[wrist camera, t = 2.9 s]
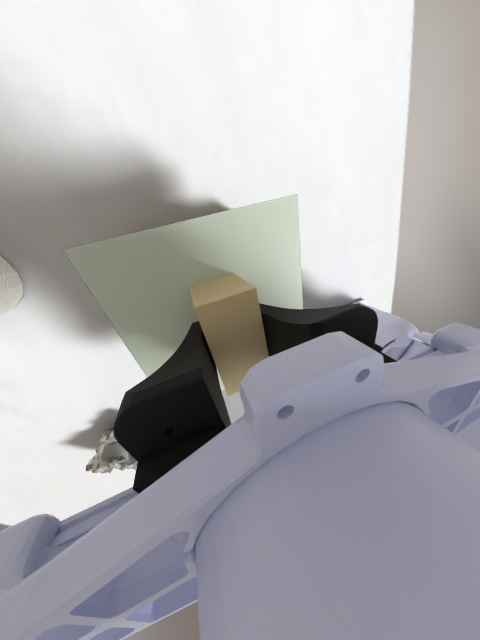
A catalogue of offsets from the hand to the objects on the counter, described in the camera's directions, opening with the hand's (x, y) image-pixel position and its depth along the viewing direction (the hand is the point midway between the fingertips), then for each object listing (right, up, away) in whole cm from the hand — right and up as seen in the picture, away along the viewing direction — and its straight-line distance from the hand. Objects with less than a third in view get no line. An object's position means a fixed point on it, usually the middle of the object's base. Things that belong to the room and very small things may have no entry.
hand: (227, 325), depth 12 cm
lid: (-1, +1, +1) cm, 2 cm away
